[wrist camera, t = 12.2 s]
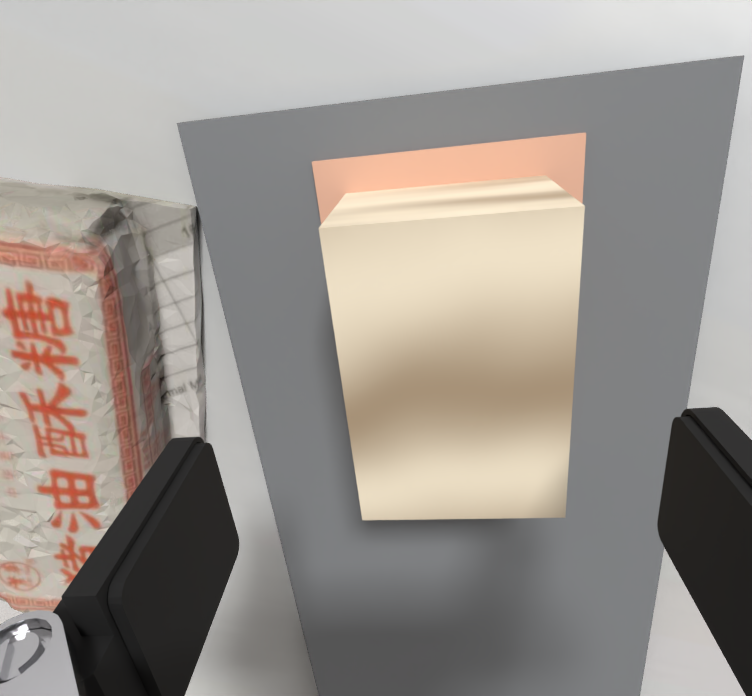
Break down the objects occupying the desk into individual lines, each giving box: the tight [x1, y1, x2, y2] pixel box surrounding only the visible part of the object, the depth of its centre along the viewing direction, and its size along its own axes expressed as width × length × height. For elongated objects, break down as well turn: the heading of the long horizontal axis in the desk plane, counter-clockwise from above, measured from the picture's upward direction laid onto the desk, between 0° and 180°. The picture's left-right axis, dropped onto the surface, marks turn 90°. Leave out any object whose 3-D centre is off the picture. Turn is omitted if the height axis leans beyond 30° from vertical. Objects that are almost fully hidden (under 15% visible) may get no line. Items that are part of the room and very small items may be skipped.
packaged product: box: [0, 177, 206, 613], centre depth 20 cm, size 18×5×10 cm
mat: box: [177, 56, 744, 696], centre depth 22 cm, size 16×30×1 cm, turn 6°
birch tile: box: [319, 175, 585, 520], centre depth 16 cm, size 9×6×4 cm, turn 6°
